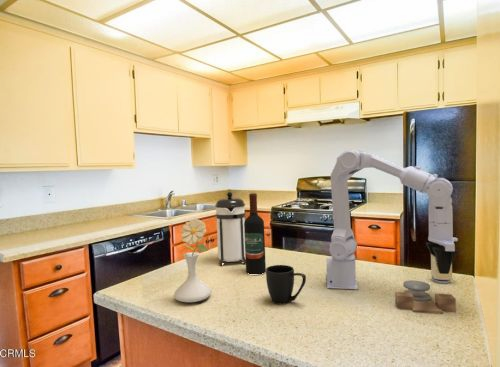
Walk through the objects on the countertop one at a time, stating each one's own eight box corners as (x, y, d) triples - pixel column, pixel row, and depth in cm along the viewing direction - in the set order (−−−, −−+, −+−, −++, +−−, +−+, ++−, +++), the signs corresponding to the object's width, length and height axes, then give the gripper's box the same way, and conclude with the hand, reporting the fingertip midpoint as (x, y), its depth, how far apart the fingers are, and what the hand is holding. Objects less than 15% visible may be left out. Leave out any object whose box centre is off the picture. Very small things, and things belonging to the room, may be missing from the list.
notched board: (398, 311, 86) (398, 298, 86) (394, 302, 92) (394, 289, 92) (458, 314, 83) (457, 301, 82) (449, 305, 88) (449, 292, 88)
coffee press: (258, 260, 140) (256, 190, 139) (231, 269, 129) (228, 193, 128) (231, 254, 152) (228, 190, 151) (204, 261, 141) (201, 193, 140)
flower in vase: (166, 300, 100) (162, 219, 99) (195, 289, 108) (192, 214, 107) (193, 311, 91) (189, 222, 90) (223, 298, 100) (219, 217, 99)
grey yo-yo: (406, 300, 92) (406, 288, 92) (401, 291, 99) (400, 279, 99) (433, 302, 91) (433, 289, 91) (426, 292, 97) (426, 280, 97)
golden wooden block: (435, 279, 89) (435, 254, 88) (431, 274, 93) (430, 250, 92) (452, 279, 88) (451, 254, 87) (446, 275, 92) (446, 251, 91)
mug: (299, 311, 88) (298, 276, 88) (261, 303, 95) (260, 270, 94) (311, 300, 95) (310, 268, 95) (275, 293, 102) (274, 263, 101)
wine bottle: (269, 270, 125) (266, 193, 124) (259, 276, 118) (256, 194, 117) (252, 268, 129) (249, 192, 128) (242, 273, 123) (239, 194, 121)
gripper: (467, 226, 82) (468, 280, 82) (447, 218, 96) (447, 263, 96) (436, 226, 83) (437, 279, 84) (420, 218, 97) (421, 263, 98)
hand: (441, 270), depth 90 cm, fingers closed on golden wooden block, 4 cm apart
